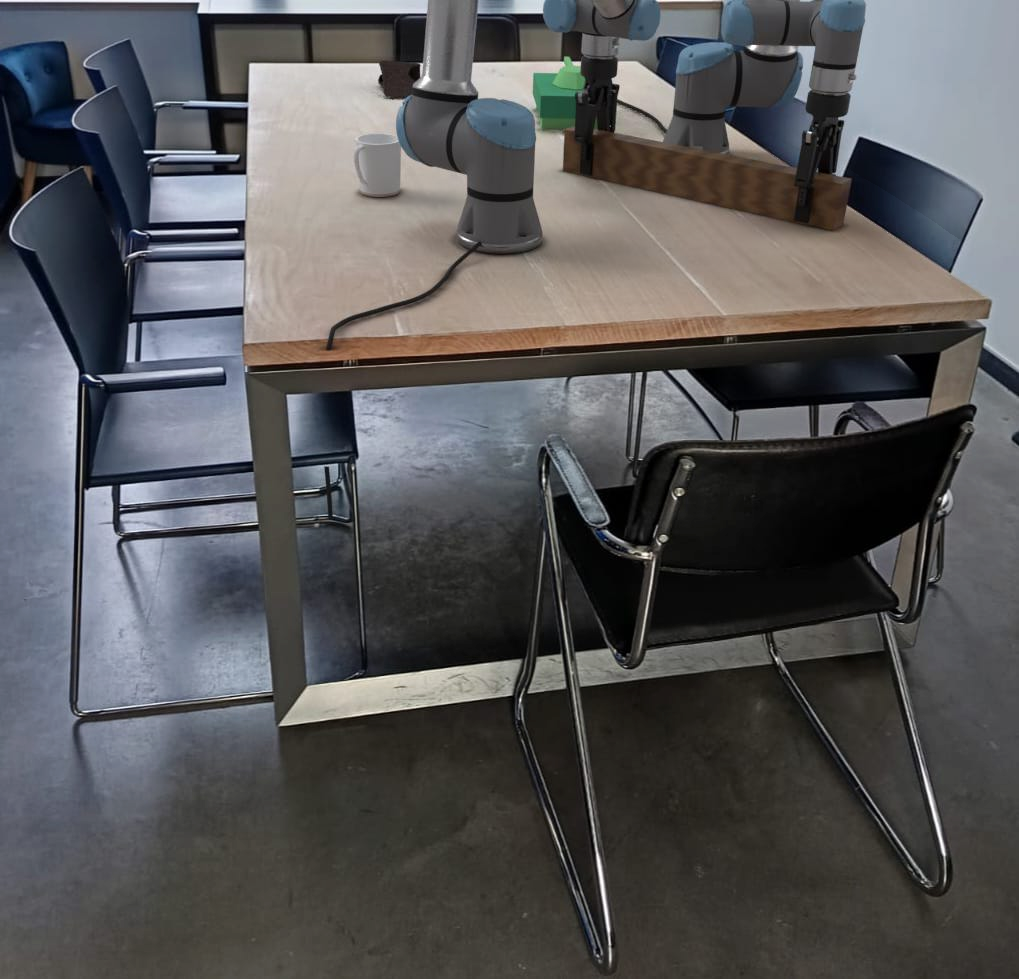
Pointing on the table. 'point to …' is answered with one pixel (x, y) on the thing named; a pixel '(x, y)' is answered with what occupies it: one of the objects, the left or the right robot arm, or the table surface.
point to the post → (709, 177)
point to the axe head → (398, 78)
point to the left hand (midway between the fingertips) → (592, 171)
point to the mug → (378, 164)
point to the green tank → (558, 96)
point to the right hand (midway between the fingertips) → (808, 216)
